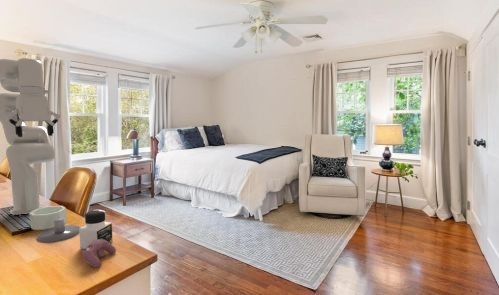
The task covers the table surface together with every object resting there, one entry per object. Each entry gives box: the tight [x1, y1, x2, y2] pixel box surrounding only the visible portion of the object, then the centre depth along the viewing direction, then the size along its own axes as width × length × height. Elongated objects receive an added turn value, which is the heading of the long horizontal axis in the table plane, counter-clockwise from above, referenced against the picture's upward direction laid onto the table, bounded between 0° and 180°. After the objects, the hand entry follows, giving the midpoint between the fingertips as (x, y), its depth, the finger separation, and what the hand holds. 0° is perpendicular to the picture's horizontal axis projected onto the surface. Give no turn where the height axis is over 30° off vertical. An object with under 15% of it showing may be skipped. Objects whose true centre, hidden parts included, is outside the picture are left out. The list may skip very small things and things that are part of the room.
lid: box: [37, 218, 81, 243], centre depth 102 cm, size 13×13×6 cm
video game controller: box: [81, 239, 117, 269], centre depth 84 cm, size 10×5×7 cm, turn 178°
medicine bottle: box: [78, 209, 114, 250], centre depth 94 cm, size 7×7×12 cm
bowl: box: [28, 205, 68, 231], centre depth 111 cm, size 12×12×6 cm
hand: (35, 136), depth 107 cm, fingers open, 9 cm apart
